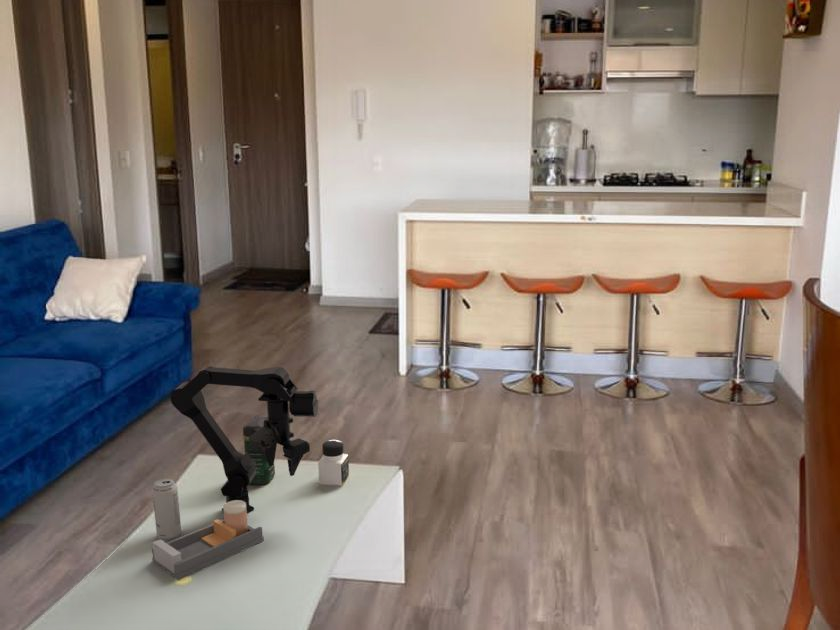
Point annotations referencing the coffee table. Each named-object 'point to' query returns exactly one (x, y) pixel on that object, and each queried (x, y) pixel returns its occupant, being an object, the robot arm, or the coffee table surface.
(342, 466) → the medicine bottle
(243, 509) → the jar
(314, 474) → the coffee table surface
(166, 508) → the energy drink can
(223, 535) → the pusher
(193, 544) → the lane
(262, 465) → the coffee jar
